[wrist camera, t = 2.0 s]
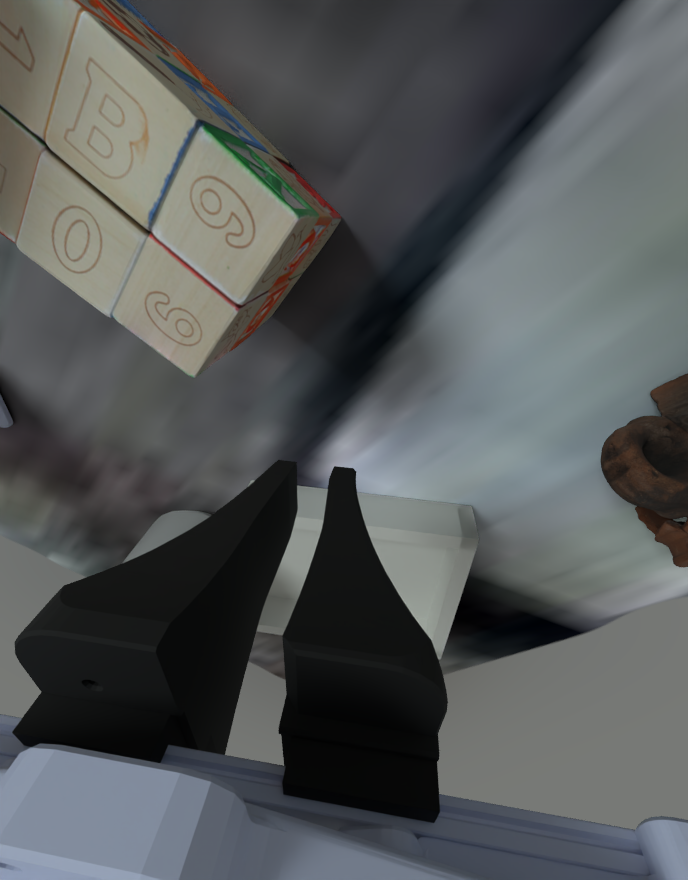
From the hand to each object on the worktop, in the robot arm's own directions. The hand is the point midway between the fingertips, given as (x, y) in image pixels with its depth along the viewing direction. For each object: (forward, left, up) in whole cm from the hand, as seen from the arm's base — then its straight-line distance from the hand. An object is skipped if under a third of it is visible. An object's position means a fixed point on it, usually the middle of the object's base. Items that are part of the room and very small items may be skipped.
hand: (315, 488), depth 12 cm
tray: (+1, -15, -10) cm, 18 cm away
